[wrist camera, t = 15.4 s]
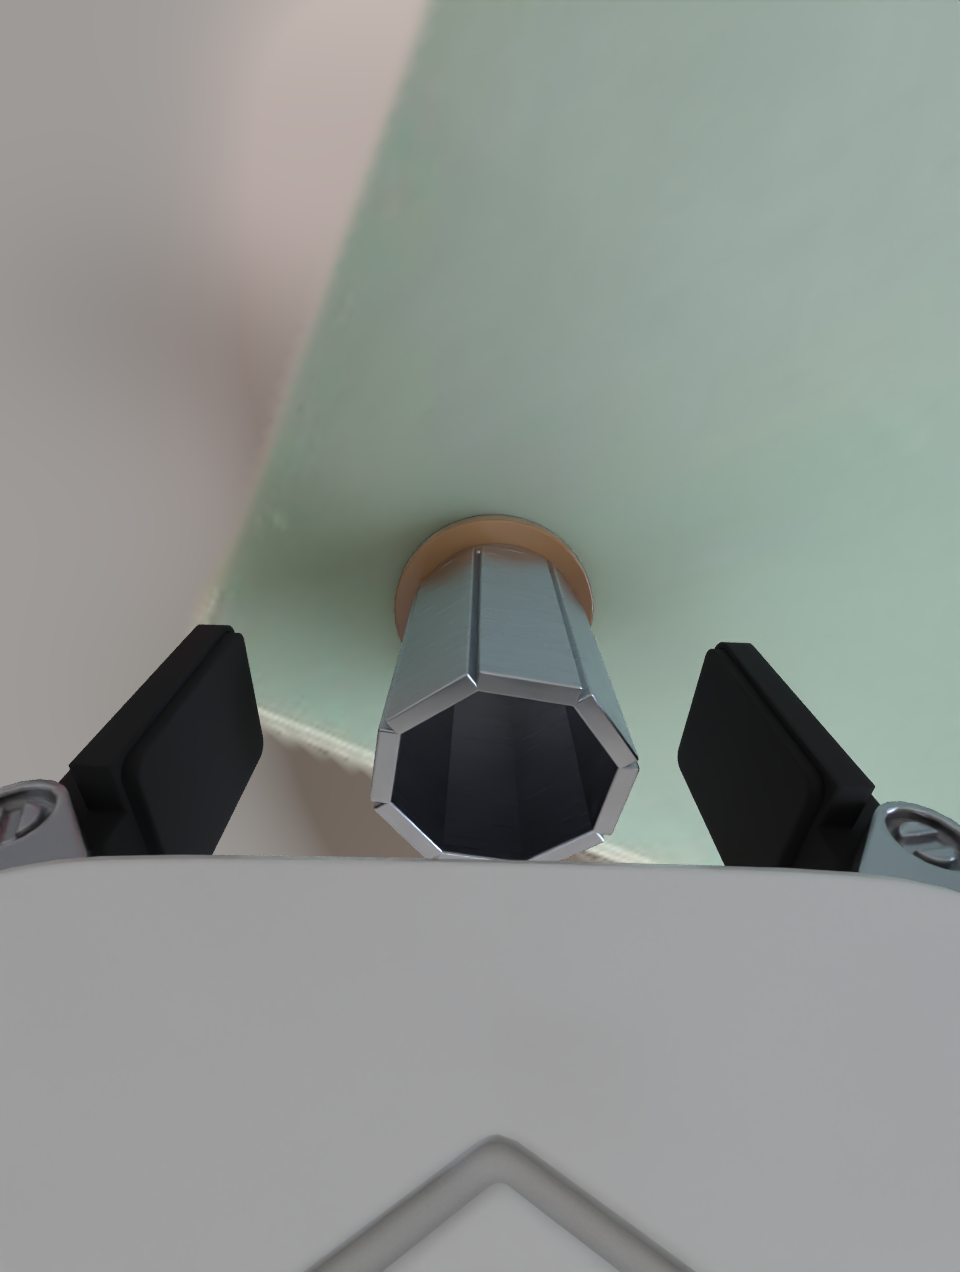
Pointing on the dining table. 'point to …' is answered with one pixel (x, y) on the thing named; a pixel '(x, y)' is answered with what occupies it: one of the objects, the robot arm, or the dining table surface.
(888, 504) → the dining table surface
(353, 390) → the dining table surface
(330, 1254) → the robot arm
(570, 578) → the coaster
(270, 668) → the dining table surface
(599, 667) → the tumbler
